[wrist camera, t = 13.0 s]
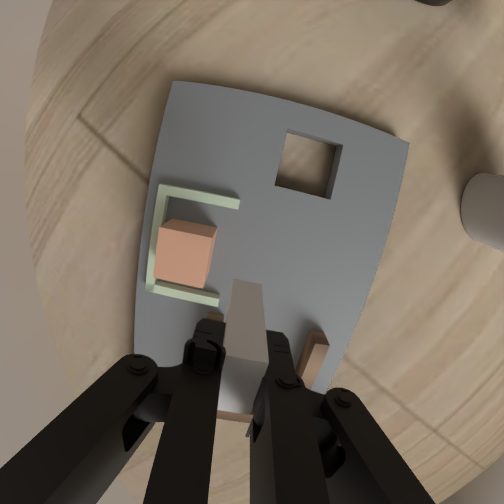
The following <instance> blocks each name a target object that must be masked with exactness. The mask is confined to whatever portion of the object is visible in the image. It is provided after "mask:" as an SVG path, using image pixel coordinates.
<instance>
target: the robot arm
mask: <svg viewBox="0 0 504 504" xmlns="http://www.w3.org/2000/svg"><path fill="white" fill-rule="evenodd" d="M416 1H418V2H421V3H424V4H427V5H431V6H443V5H445V4H447V3H449V2H450V1H452V0H416ZM252 409H253V418H252V420H251V423H250V426H249V428H248V431H247V433H246V437H249V435H250V504H435V502H434V501H433V500H432V498H431V497H430V495H429V494H428V493H427V491H426V490H425V489H424V487H423V486H422V484H421V483H420V482H419V480H418V479H417V478H416V476H415V475H414V473H413V472H412V471H411V469H410V468H409V466H408V465H407V464H406V462H405V461H404V460H403V458H402V457H401V455H400V454H399V453H398V451H397V450H396V449H395V447H394V446H393V444H392V443H391V442H390V440H389V439H388V437H387V436H386V435H385V433H384V432H383V431H382V429H381V428H380V426H379V425H378V424H377V422H376V421H375V420H374V418H373V417H372V415H371V414H370V413H369V411H368V410H367V409H366V407H365V406H364V404H363V403H362V402H361V400H360V399H359V398H358V397H357V396H356V395H355V393H353V392H351V391H350V390H347V389H344V388H333V389H330V390H329V391H328V392H327V393H326V395H324V394H321V393H318V392H315V391H312V390H310V389H308V388H306V387H305V384H304V382H303V380H302V378H300V377H299V376H298V375H297V374H296V373H295V368H294V363H293V358H292V354H291V349H290V344H289V340H288V338H287V337H286V336H285V335H284V333H283V332H277V331H271V330H266V326H265V315H264V305H263V294H262V284H258V283H253V282H248V281H244V280H239V279H234V278H233V283H232V287H231V291H230V296H229V300H228V305H227V310H226V314H225V319H224V322H221V321H216V320H211V319H207V318H203V319H201V320H200V321H199V322H197V324H196V328H195V331H194V334H193V337H192V338H191V339H189V340H187V342H186V343H185V346H184V353H183V361H182V363H181V364H179V365H176V366H172V367H158V365H157V364H156V362H155V361H154V360H153V359H151V358H150V357H148V356H145V355H142V354H130V355H126V356H124V357H122V358H121V359H120V360H119V361H117V362H116V363H115V364H114V365H113V366H112V367H111V368H110V369H109V370H107V371H106V372H105V373H104V374H103V375H102V376H101V377H100V378H99V379H98V380H96V381H95V382H94V383H93V384H92V385H91V386H90V387H89V388H88V389H86V390H85V391H84V392H83V393H82V394H81V395H80V396H79V397H78V398H77V399H75V400H74V401H73V402H72V403H71V404H70V405H69V406H68V407H67V408H66V409H65V410H63V411H62V412H61V413H60V414H59V415H58V416H57V417H56V418H55V419H54V420H52V421H51V422H50V423H49V424H48V425H47V426H46V427H45V428H44V429H43V430H42V431H40V432H39V433H38V434H37V435H36V436H35V437H34V438H33V439H32V440H31V441H30V442H29V443H27V445H25V446H24V447H23V448H22V449H21V450H20V451H19V452H18V453H17V454H16V455H15V456H13V457H12V458H11V459H10V460H9V461H8V462H7V463H6V464H5V465H4V466H3V467H2V468H1V469H0V504H96V503H97V502H98V500H99V499H100V498H101V497H102V495H103V494H104V492H105V491H106V490H107V489H108V487H109V486H110V485H111V483H112V482H113V481H114V479H115V478H116V476H117V475H118V474H119V472H120V471H121V470H122V468H123V467H124V466H125V464H126V463H127V462H128V460H129V459H130V458H131V456H132V455H133V453H134V452H135V451H136V449H137V448H138V447H139V445H140V444H141V442H142V441H143V440H144V438H145V437H146V436H147V434H148V433H149V431H150V430H151V429H152V427H153V426H154V424H155V422H165V423H164V426H163V430H162V433H161V437H160V441H159V444H158V448H157V451H156V455H155V459H154V462H153V466H152V470H151V474H150V478H149V481H148V485H147V489H146V493H145V497H144V501H143V504H207V503H208V493H209V483H210V473H211V463H212V454H213V444H214V435H215V426H216V417H217V410H221V411H227V412H233V413H239V414H246V415H250V414H251V411H252Z"/></svg>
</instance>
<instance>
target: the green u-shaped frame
mask: <svg viewBox="0 0 504 504" xmlns="http://www.w3.org/2000/svg"><path fill="white" fill-rule="evenodd" d="M169 196H173V197H178V198H183V199H188V200H193V201H198V202H203V203H208V204H213V205H218V206H223V207H228V208H233V209H237V210H238V208H239V203H240V199H239V198H234V197H229V196H225V195H220V194H215V193H210V192H205V191H200V190H195V189H189V188H184V187H179V186H173V185H168V184H159V187H158V193H157V199H156V205H155V211H154V218H153V225H152V232H151V240H150V247H149V256H148V265H147V275H146V286H145V291H149V292H153V293H157V294H161V295H165V296H170V297H174V298H178V299H183V300H187V301H192V302H196V303H201V304H205V305H210V306H215V307H218V303H219V298H220V294H215V293H210V292H206V291H201V290H196V289H192V288H187V287H183V286H178V285H174V284H170V283H165V282H161V281H157V278H153V273H154V264H155V256H156V248H157V240H158V233H159V227H160V226H162V225H163V224H165V218H166V212H167V206H168V200H169Z"/></svg>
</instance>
